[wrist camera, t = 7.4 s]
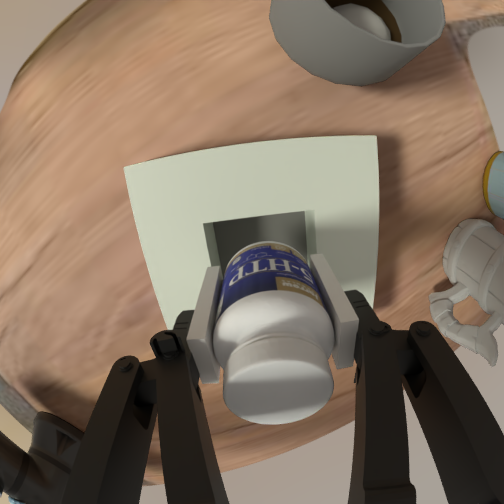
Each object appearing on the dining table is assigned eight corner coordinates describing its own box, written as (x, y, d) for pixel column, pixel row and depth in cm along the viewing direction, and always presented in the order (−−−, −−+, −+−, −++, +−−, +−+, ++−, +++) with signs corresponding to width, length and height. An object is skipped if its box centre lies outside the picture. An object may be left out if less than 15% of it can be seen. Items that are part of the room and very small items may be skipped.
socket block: (188, 332, 26) (180, 361, 22) (145, 161, 19) (123, 167, 16) (354, 313, 25) (368, 339, 21) (354, 135, 19) (376, 135, 15)
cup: (391, 24, 15) (460, -17, 5) (368, 112, 18) (449, 103, 9) (284, -19, 13) (303, -93, 4) (249, 69, 17) (250, 12, 8)
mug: (493, 250, 23) (561, 301, 12) (426, 319, 26) (480, 394, 15) (476, 199, 20) (563, 244, 9) (399, 278, 24) (470, 362, 13)
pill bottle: (310, 236, 16) (366, 335, 8) (308, 311, 18) (341, 424, 10) (218, 241, 16) (190, 348, 8) (227, 316, 18) (217, 434, 10)
